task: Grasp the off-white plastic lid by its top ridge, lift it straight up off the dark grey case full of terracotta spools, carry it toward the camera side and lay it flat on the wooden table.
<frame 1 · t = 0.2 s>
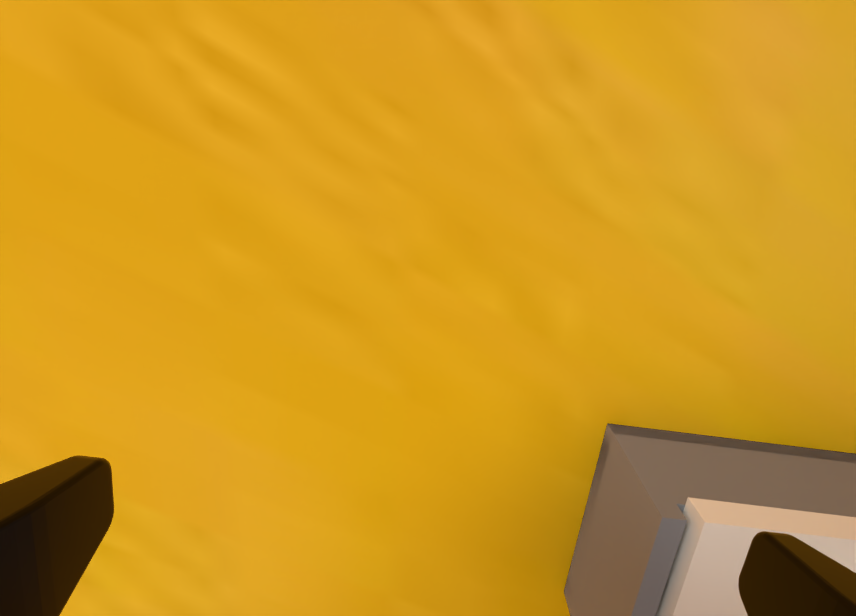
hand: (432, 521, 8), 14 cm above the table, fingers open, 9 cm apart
case: (716, 528, 24), on the table
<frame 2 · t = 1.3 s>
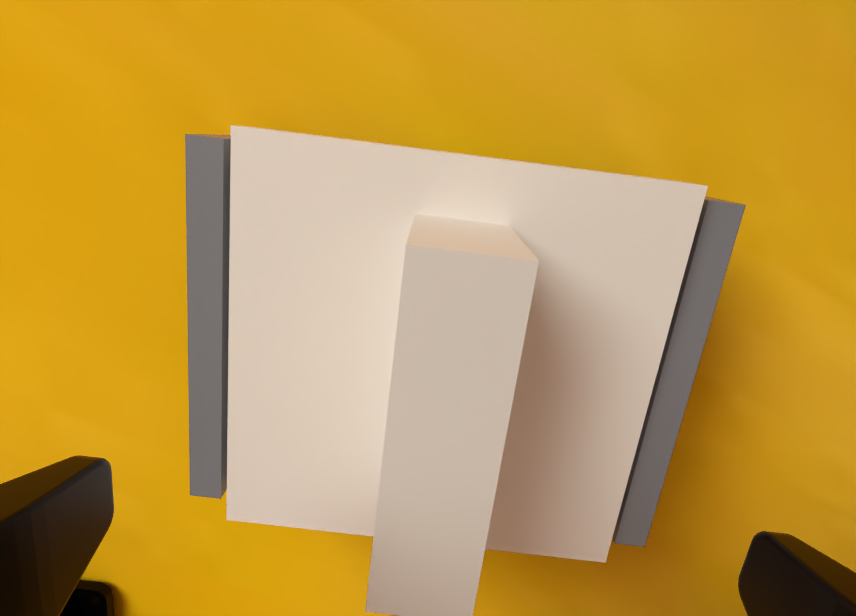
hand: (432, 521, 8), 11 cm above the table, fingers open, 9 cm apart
case: (440, 296, 18), on the table
lid: (440, 351, 14), point 5 cm above the table, touching case
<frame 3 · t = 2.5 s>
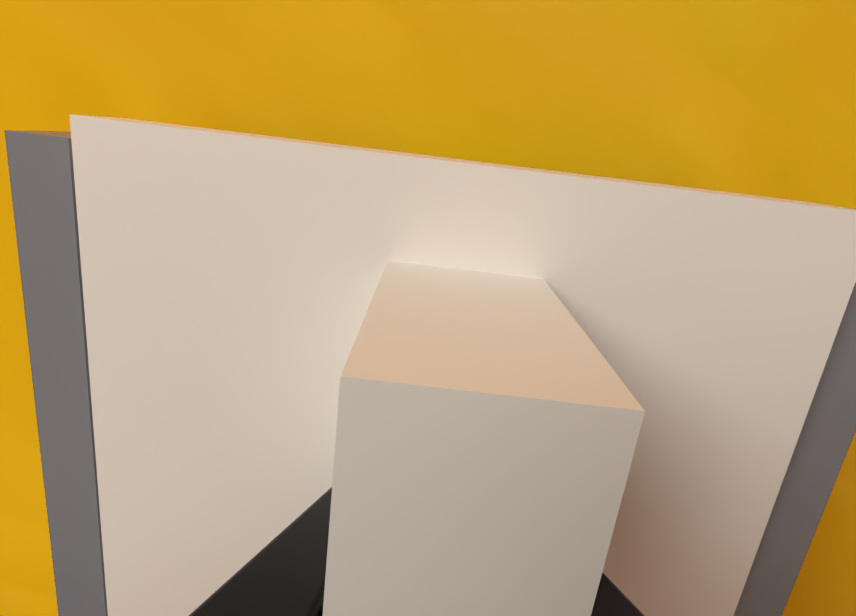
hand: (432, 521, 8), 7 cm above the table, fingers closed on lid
case: (434, 346, 14), on the table
lid: (433, 455, 9), point 5 cm above the table, touching case, gripper
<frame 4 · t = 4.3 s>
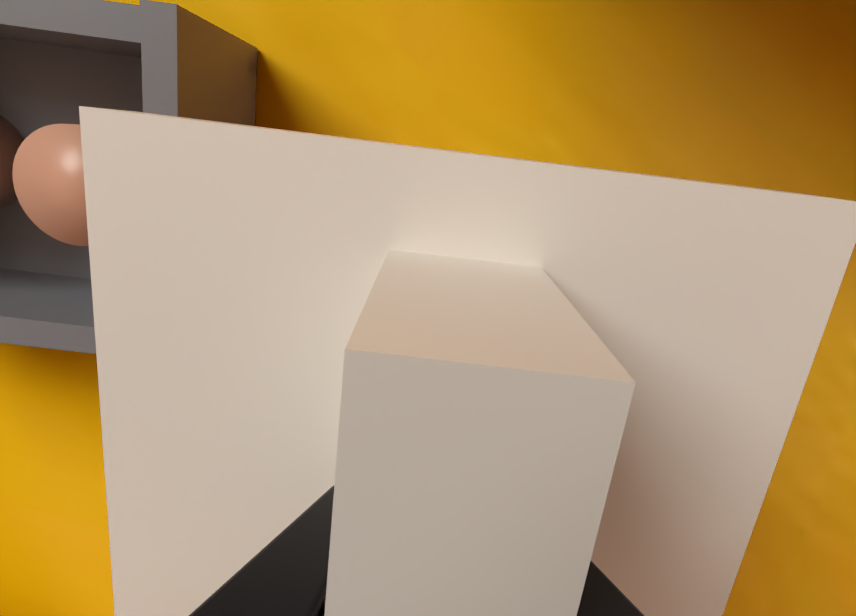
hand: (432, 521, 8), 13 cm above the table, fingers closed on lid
case: (77, 167, 19), on the table
lid: (433, 443, 9), point 11 cm above the table, touching gripper
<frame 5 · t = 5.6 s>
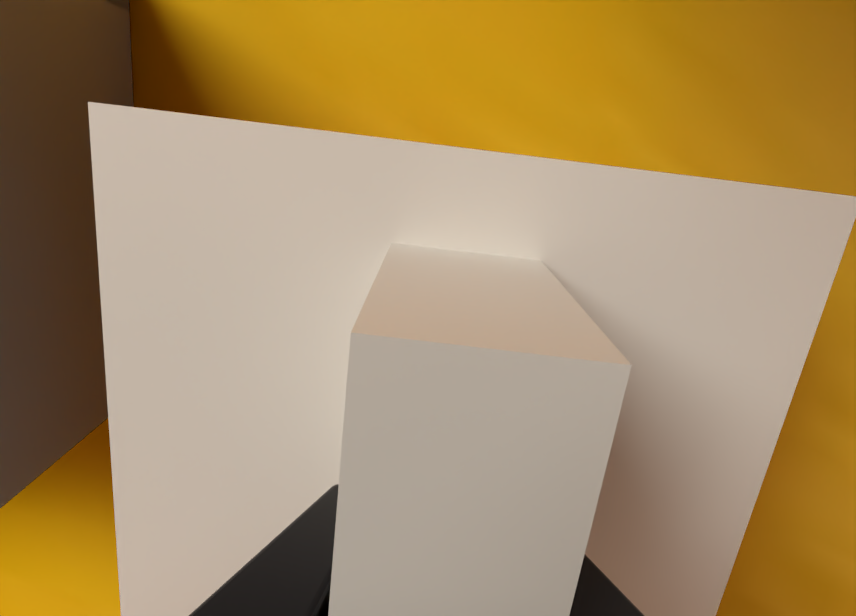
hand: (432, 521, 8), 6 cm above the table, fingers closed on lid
lid: (434, 436, 9), point 4 cm above the table, touching gripper
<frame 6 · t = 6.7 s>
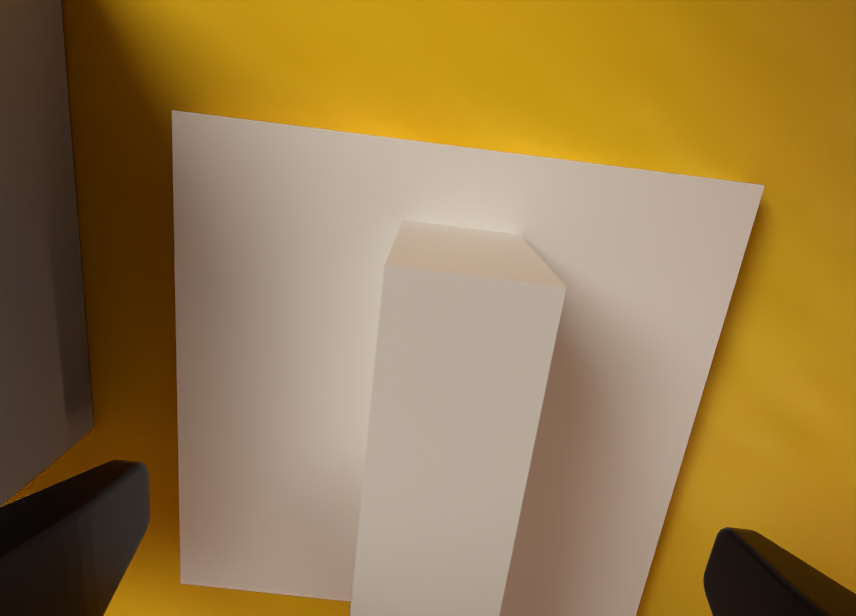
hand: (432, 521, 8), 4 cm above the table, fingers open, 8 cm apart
lid: (435, 382, 11), on the table
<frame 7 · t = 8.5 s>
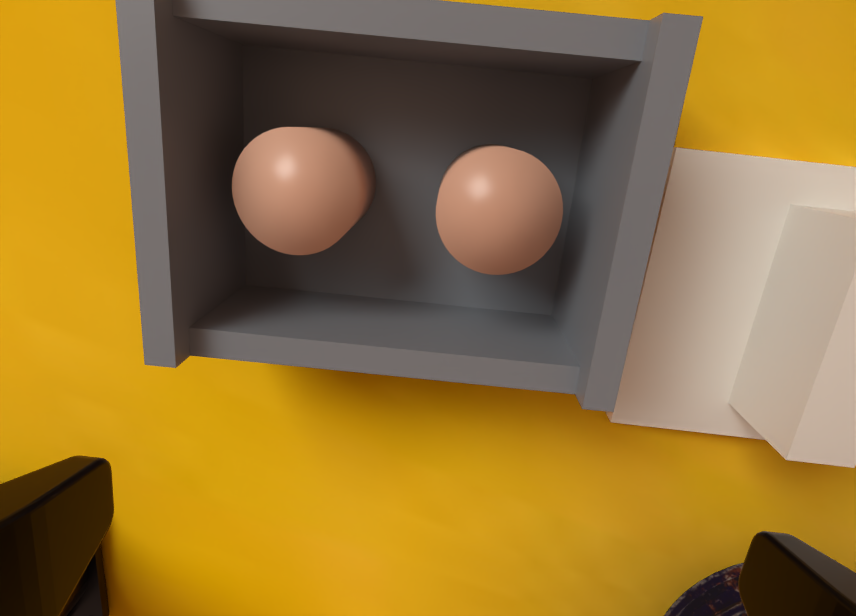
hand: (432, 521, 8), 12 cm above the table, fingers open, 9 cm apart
case: (409, 186, 18), on the table
lid: (767, 301, 19), on the table
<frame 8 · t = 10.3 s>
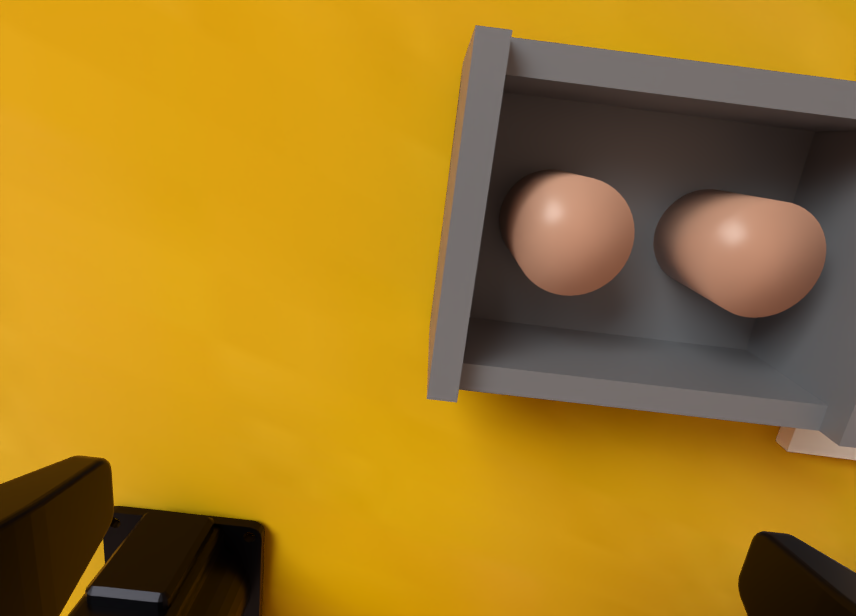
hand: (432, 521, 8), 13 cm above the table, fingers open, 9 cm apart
case: (617, 225, 19), on the table
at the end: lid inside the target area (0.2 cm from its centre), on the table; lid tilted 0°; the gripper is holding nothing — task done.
